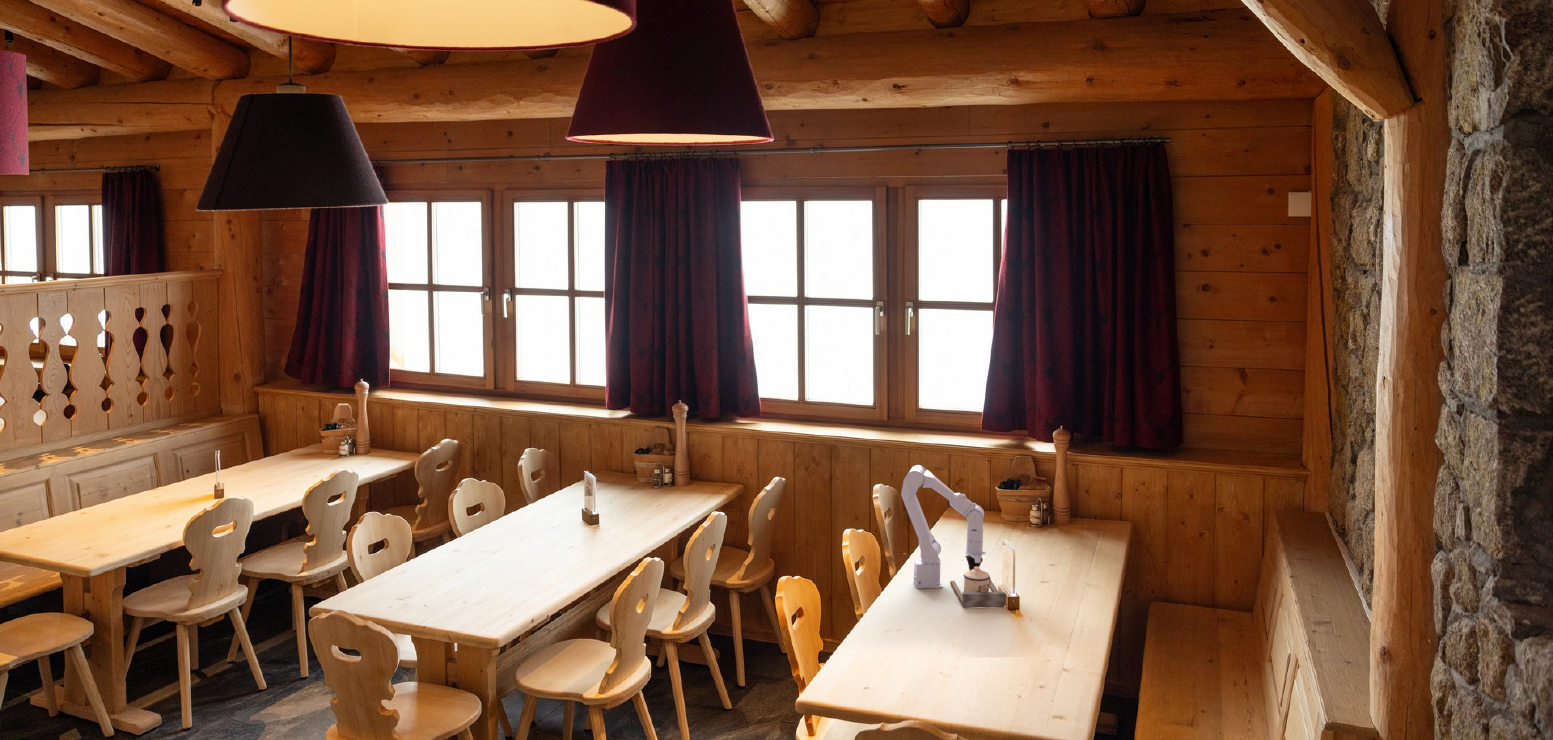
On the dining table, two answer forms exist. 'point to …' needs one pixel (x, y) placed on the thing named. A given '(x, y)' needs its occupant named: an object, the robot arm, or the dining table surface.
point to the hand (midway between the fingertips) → (973, 575)
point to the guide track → (980, 597)
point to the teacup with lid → (976, 580)
